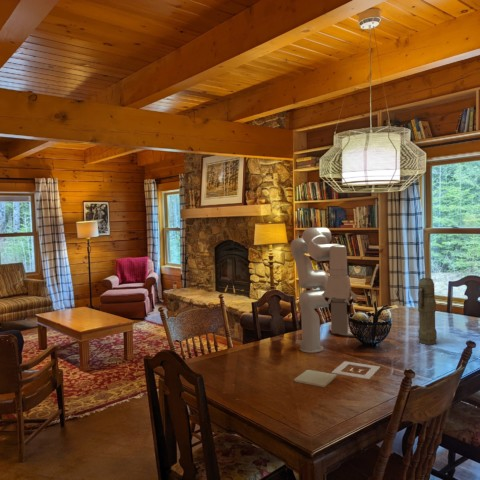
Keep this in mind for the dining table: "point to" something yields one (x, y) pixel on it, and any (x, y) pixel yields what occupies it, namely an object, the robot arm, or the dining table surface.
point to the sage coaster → (315, 378)
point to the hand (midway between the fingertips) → (339, 312)
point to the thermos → (427, 312)
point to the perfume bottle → (339, 316)
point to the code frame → (366, 376)
